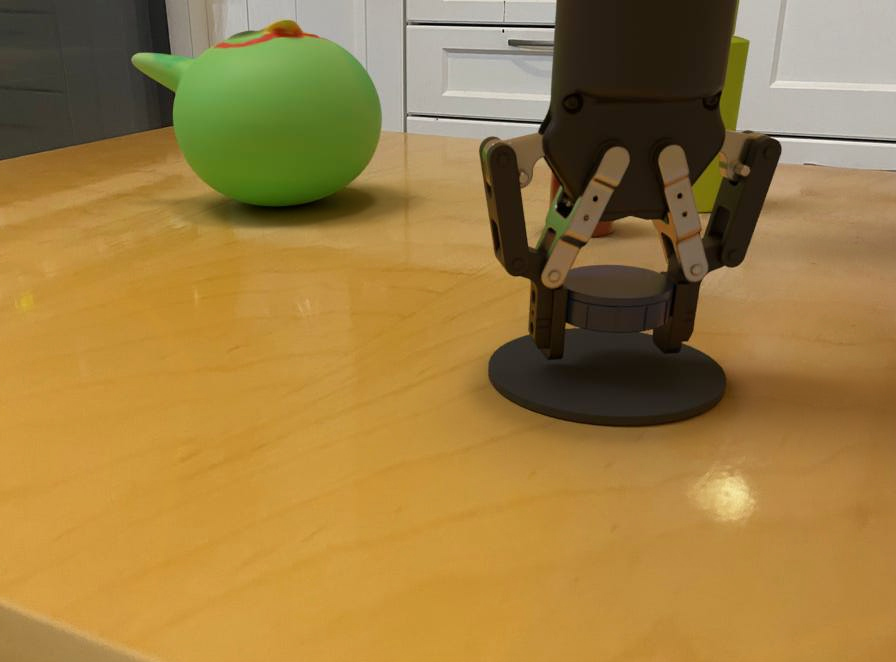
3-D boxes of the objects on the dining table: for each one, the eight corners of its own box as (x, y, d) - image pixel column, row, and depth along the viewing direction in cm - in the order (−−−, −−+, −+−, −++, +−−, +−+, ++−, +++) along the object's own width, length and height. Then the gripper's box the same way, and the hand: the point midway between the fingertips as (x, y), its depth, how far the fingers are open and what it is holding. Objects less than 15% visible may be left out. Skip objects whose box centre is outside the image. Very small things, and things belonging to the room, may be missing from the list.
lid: (573, 336, 44) (575, 301, 43) (542, 299, 49) (544, 267, 48) (687, 330, 45) (692, 295, 44) (646, 293, 50) (649, 262, 49)
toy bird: (259, 237, 73) (242, 26, 66) (141, 203, 83) (114, 18, 76) (419, 200, 84) (419, 16, 77) (298, 174, 94) (288, 10, 87)
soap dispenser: (747, 207, 82) (792, -60, 72) (684, 215, 79) (721, -61, 69) (702, 194, 86) (738, -59, 76) (641, 201, 84) (670, -59, 74)
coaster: (672, 331, 54) (673, 322, 54) (767, 417, 44) (769, 408, 44) (468, 341, 53) (468, 332, 53) (517, 433, 43) (518, 423, 42)
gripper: (499, -27, 35) (485, 388, 44) (856, -29, 37) (776, 371, 45) (463, -29, 42) (456, 333, 50) (768, -31, 44) (712, 320, 52)
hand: (608, 350), depth 48 cm, fingers closed on lid, 5 cm apart
